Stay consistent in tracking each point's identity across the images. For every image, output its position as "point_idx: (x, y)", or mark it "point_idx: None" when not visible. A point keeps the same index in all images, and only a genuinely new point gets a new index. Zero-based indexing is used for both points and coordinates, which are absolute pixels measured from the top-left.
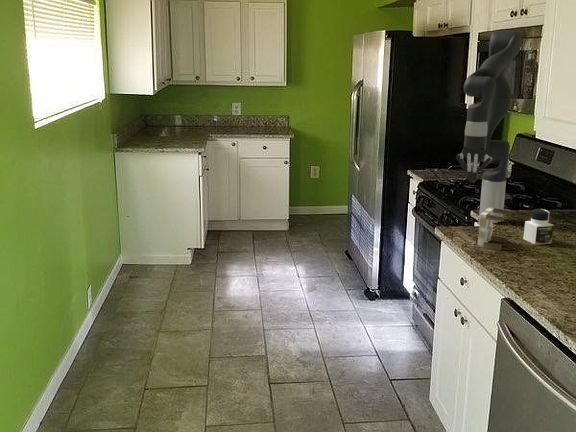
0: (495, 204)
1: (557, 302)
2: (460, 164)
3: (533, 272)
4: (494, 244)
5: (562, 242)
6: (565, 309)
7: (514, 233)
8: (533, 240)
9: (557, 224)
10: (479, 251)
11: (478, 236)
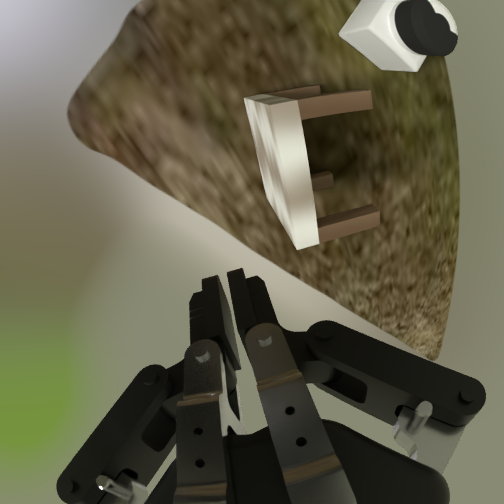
0: None
1: (436, 323)
2: (146, 442)
3: (413, 260)
4: (314, 183)
5: None
6: (441, 330)
7: None
8: (380, 65)
9: None
10: None
11: (274, 210)
